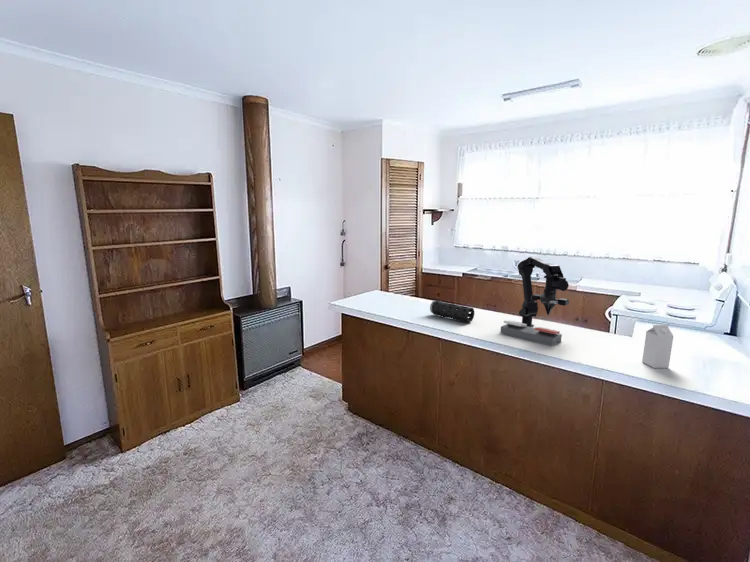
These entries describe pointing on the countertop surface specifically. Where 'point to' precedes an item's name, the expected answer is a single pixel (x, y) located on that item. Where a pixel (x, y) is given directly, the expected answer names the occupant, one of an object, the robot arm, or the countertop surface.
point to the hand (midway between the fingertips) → (548, 314)
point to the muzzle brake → (452, 311)
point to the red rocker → (547, 330)
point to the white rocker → (515, 323)
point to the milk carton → (658, 346)
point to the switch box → (531, 334)
